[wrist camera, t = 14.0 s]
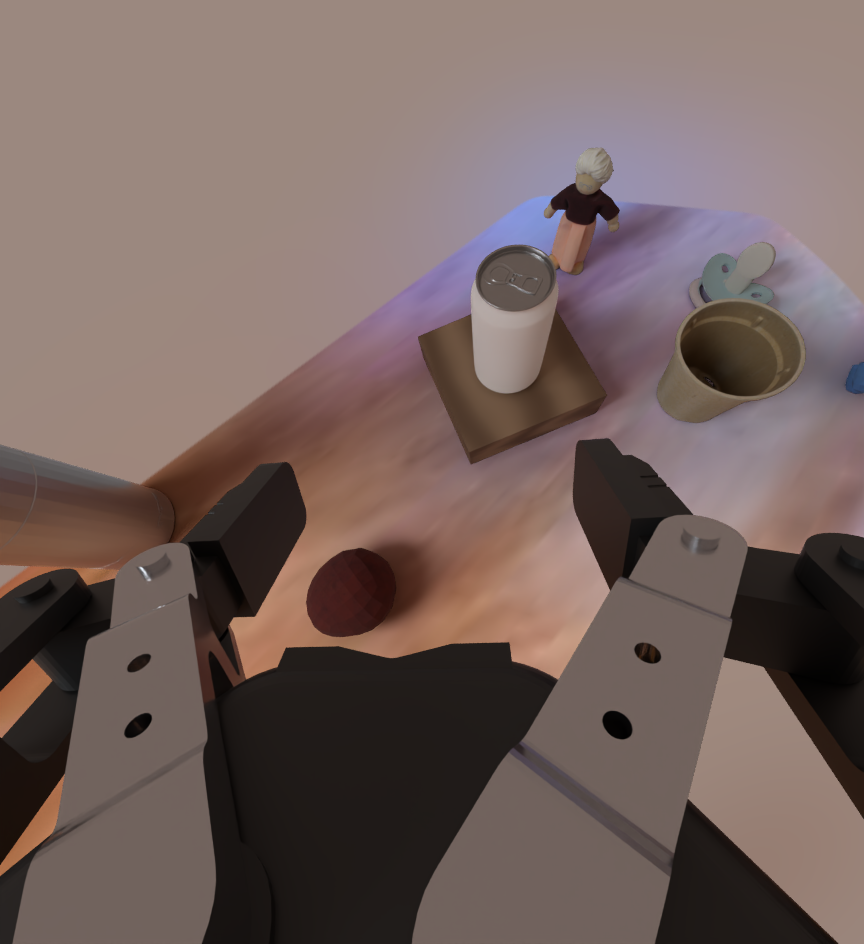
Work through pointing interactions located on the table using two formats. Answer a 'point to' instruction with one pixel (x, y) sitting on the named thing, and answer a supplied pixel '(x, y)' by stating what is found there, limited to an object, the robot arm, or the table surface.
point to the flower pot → (729, 359)
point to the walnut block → (509, 414)
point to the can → (512, 316)
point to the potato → (351, 593)
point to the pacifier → (736, 276)
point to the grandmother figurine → (582, 210)
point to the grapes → (856, 379)
